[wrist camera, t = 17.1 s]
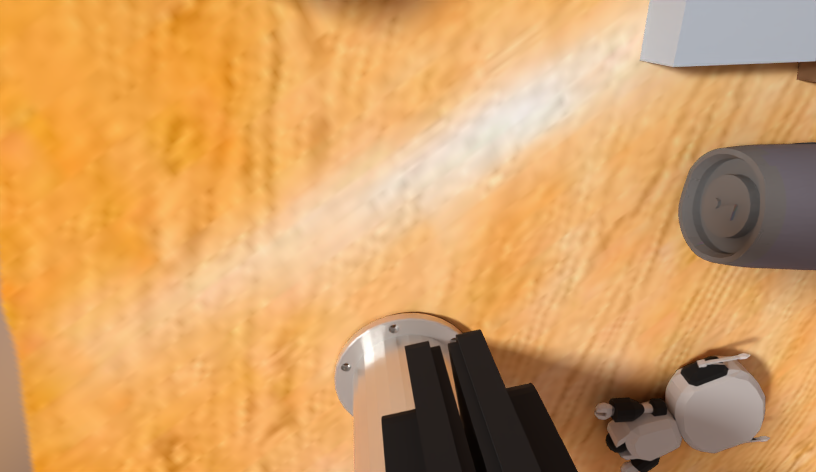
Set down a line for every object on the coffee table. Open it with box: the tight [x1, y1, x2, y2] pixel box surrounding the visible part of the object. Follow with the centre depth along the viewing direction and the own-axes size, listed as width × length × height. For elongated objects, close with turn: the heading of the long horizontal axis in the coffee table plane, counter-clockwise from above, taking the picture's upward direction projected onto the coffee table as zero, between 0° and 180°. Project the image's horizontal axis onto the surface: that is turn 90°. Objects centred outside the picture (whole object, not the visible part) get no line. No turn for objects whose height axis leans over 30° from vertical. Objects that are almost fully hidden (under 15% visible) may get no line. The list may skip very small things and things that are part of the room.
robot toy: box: [594, 353, 770, 472], centre depth 48 cm, size 12×4×15 cm
